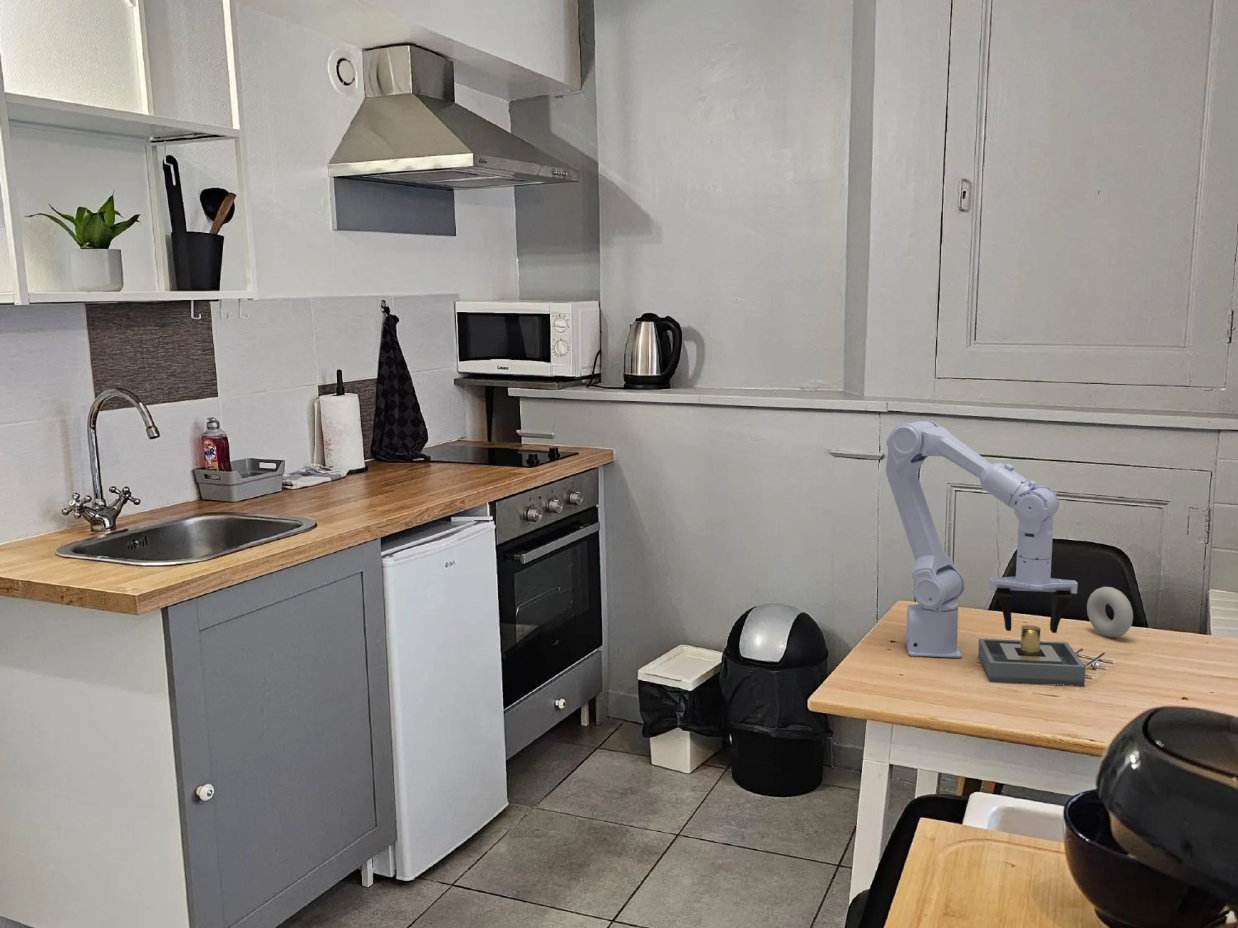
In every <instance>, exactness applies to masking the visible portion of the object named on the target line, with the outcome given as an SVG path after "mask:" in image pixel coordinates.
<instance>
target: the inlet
mask: <svg viewBox="0 0 1238 928" xmlns="http://www.w3.org/2000/svg"><path fill="white" fill-rule="evenodd" d="M1020 648H1021V644H1005V643H999V658H1000V660H1001V662H1019V663H1041V664H1062V661H1061V659H1060V658H1059V656H1058V655H1057V653H1056V652H1055V650H1054V649H1053V647H1052V646H1051V645H1040V652H1039V657H1035V656H1020Z"/></svg>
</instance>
